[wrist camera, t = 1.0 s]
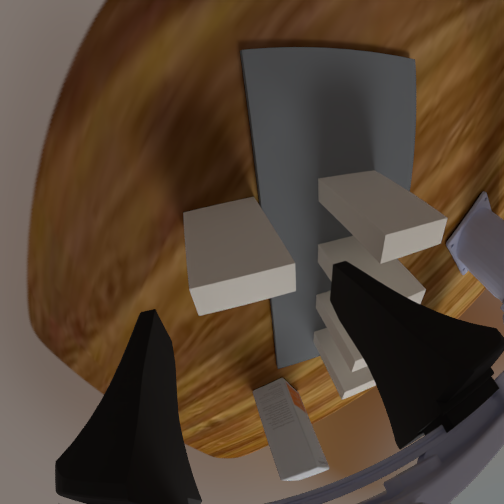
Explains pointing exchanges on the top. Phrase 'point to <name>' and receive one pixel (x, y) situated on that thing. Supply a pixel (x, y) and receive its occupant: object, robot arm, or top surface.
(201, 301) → the domino
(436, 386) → the robot arm
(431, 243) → the domino
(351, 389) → the domino
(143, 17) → the top surface
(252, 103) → the runner mat
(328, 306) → the domino
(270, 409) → the skincare box
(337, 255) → the domino
